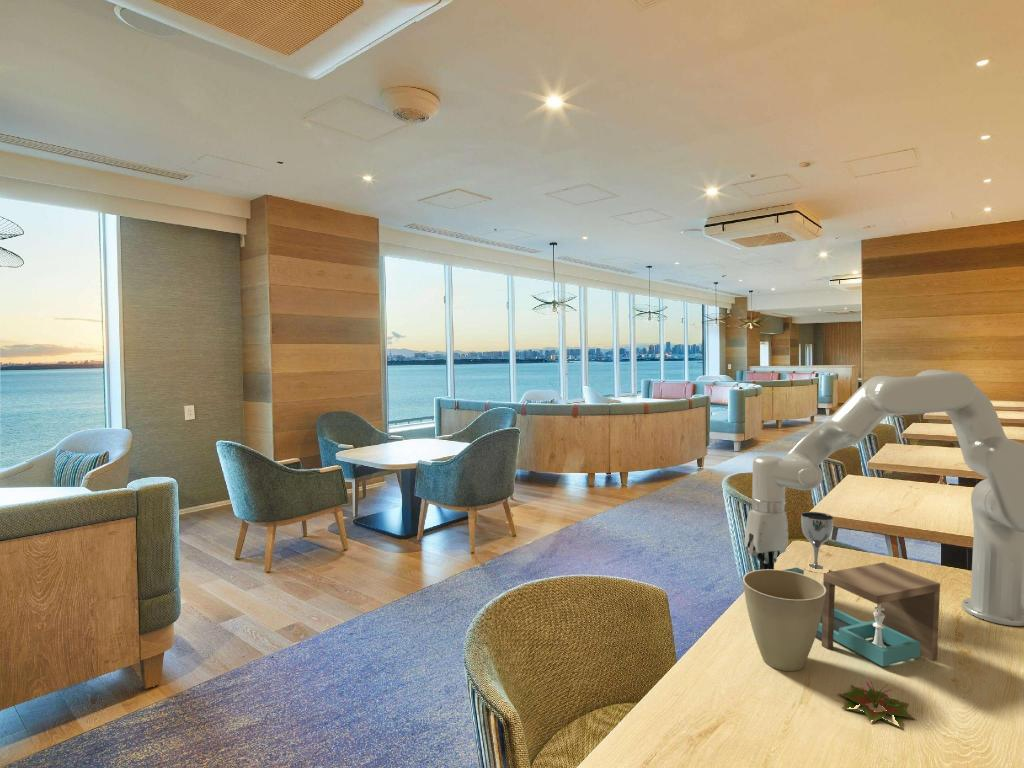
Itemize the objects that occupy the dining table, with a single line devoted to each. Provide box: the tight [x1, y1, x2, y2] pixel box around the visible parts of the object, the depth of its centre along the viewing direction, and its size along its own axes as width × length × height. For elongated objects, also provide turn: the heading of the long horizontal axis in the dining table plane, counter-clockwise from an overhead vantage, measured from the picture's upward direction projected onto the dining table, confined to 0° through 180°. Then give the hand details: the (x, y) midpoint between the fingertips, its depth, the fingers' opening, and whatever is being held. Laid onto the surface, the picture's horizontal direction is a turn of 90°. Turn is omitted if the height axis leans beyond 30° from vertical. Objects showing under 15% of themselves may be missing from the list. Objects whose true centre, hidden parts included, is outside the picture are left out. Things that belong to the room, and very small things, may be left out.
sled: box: [784, 567, 921, 667], centre depth 130 cm, size 10×31×7 cm, turn 19°
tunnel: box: [815, 562, 941, 661], centre depth 125 cm, size 17×23×16 cm
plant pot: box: [742, 568, 826, 672], centre depth 116 cm, size 15×15×16 cm
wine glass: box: [800, 511, 834, 569], centre depth 165 cm, size 8×8×15 cm
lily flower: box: [838, 679, 915, 731], centre depth 102 cm, size 12×12×5 cm
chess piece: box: [872, 604, 887, 648], centre depth 120 cm, size 5×5×10 cm
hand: (766, 577), depth 149 cm, fingers closed
